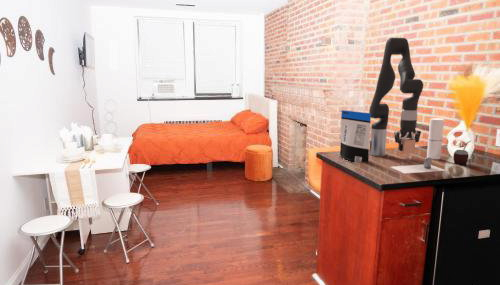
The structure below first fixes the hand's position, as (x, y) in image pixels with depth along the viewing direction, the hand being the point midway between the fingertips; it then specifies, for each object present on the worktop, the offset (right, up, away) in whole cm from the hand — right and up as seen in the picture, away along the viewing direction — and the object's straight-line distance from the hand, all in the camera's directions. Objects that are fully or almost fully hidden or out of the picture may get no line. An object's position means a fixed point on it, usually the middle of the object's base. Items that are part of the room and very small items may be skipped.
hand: (406, 150), depth 170 cm
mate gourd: (+38, -9, +14) cm, 42 cm away
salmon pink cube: (0, -1, 0) cm, 1 cm away
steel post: (+13, -10, +4) cm, 17 cm away
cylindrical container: (+28, -7, +25) cm, 38 cm away
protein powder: (-19, -7, +29) cm, 35 cm away
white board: (+7, -11, +3) cm, 14 cm away
